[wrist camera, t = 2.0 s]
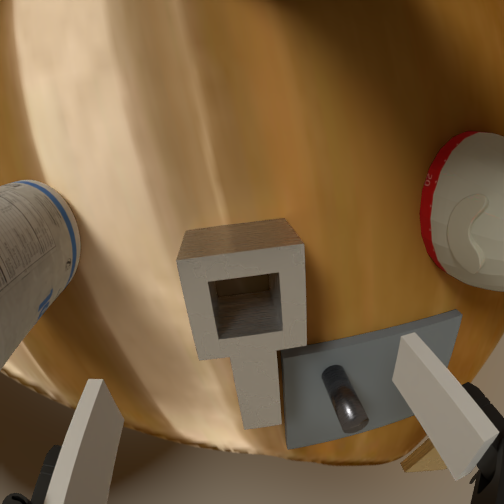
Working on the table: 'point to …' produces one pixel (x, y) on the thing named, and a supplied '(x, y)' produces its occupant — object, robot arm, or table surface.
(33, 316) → the supplement tub
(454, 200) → the kitchen timer
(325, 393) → the board
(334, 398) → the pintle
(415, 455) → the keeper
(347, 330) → the table surface
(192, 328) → the link
